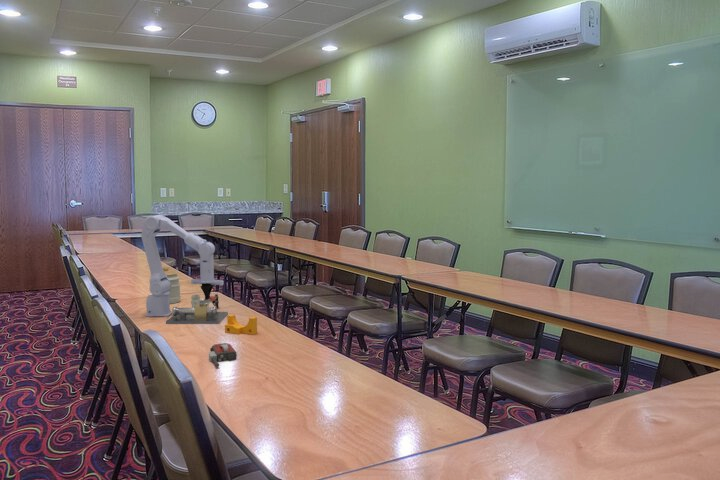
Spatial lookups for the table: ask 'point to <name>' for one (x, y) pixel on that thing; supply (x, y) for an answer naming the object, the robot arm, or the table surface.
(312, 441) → the table surface
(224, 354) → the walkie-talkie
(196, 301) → the valve
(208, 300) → the valve lever
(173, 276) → the jar
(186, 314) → the pipe stand
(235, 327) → the pipe clamp
